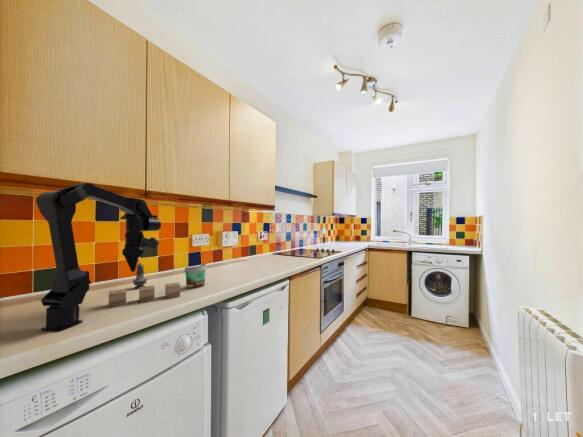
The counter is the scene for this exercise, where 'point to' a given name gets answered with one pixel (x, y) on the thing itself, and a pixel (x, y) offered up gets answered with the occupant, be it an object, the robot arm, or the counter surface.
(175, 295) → the walnut block numbered 1
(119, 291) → the walnut block numbered 7
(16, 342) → the counter surface
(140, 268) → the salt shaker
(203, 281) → the food container
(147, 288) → the plain walnut block
